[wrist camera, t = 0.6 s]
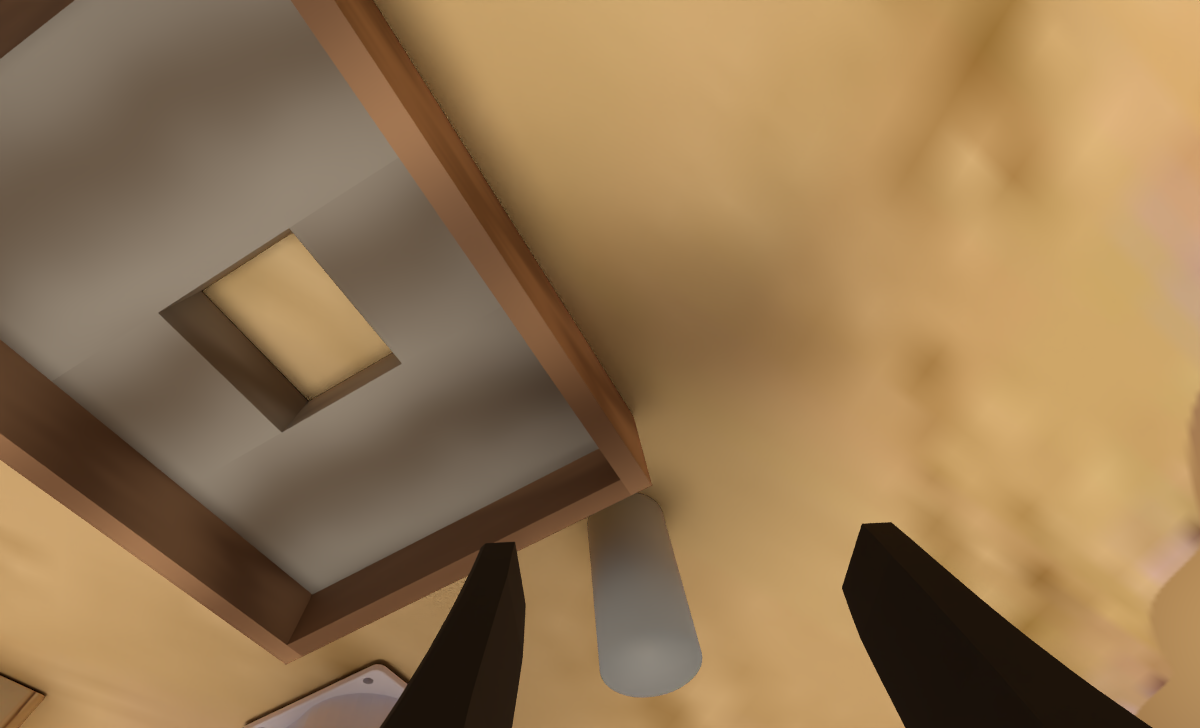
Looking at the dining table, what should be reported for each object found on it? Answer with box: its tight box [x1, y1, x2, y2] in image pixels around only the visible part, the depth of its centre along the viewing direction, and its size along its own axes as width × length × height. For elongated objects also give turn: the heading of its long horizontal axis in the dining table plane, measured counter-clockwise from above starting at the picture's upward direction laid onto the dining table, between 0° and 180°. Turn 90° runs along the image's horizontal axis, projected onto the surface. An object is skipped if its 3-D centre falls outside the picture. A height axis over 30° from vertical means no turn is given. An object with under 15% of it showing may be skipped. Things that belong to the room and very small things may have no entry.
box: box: [0, 0, 652, 664], centre depth 17 cm, size 20×16×4 cm
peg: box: [587, 493, 702, 697], centre depth 21 cm, size 4×4×7 cm
